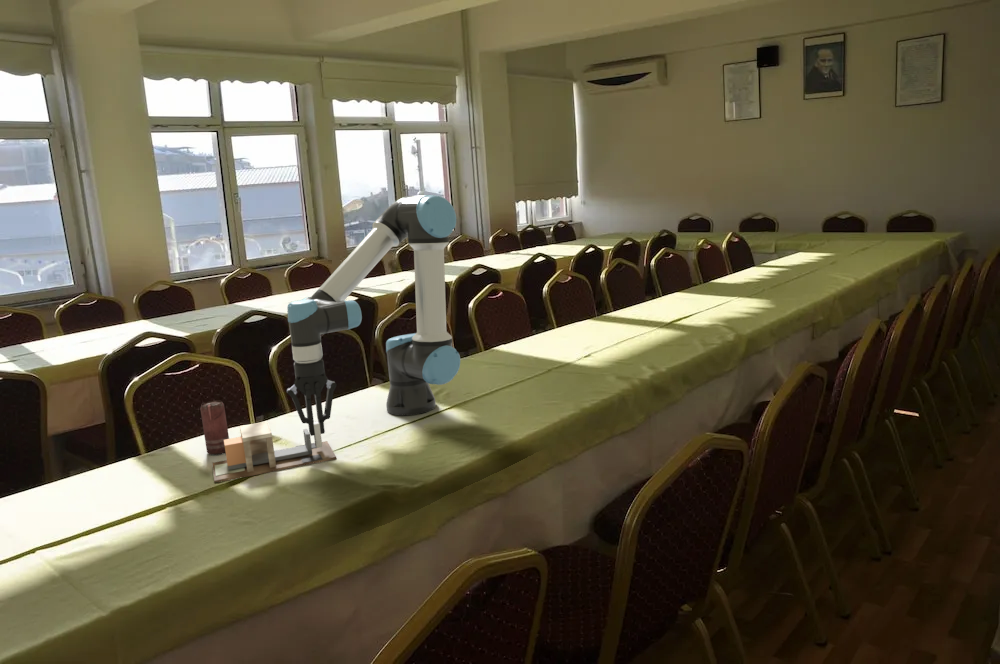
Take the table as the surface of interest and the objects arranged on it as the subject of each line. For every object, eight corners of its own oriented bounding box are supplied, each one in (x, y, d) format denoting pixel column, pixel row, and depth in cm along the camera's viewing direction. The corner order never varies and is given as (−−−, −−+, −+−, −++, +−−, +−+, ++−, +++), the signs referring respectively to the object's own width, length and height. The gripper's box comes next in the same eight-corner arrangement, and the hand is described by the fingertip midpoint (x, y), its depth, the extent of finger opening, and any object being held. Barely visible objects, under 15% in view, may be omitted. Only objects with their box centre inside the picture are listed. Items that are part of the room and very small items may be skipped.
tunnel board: (327, 443, 215) (323, 409, 213) (336, 459, 203) (332, 423, 201) (212, 464, 205) (207, 430, 203) (214, 483, 192) (208, 446, 190)
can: (206, 457, 211) (198, 407, 208) (208, 449, 217) (200, 401, 214) (229, 453, 212) (222, 404, 210) (231, 446, 218) (224, 398, 216)
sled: (309, 447, 209) (306, 424, 208) (312, 453, 204) (309, 430, 203) (227, 463, 202) (223, 439, 201) (228, 470, 197) (224, 445, 196)
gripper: (330, 353, 208) (340, 437, 213) (280, 360, 204) (291, 446, 208) (336, 358, 201) (345, 445, 206) (284, 366, 197) (295, 455, 202)
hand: (318, 445), depth 207 cm, fingers closed
